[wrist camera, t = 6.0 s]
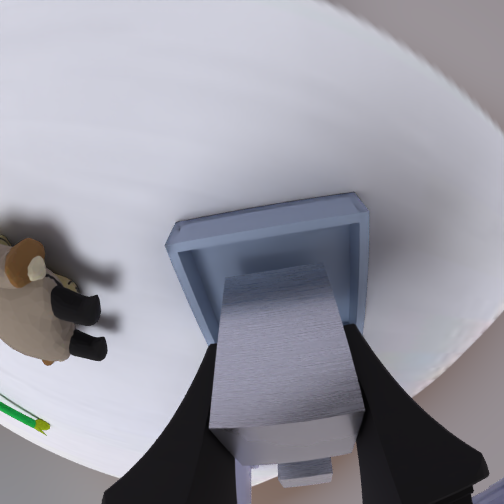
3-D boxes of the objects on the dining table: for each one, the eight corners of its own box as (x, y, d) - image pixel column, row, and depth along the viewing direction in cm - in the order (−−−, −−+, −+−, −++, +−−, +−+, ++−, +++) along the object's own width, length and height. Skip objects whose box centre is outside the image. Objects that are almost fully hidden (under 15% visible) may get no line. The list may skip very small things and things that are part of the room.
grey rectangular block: (322, 420, 24) (330, 481, 18) (280, 426, 24) (283, 487, 19) (322, 403, 22) (332, 473, 16) (275, 409, 22) (278, 480, 17)
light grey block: (326, 328, 14) (351, 452, 8) (245, 340, 14) (242, 465, 9) (322, 262, 12) (365, 409, 6) (225, 277, 12) (209, 428, 7)
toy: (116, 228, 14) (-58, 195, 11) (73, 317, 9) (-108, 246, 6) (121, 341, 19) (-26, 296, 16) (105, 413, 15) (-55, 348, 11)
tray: (353, 320, 16) (361, 345, 14) (220, 339, 17) (217, 365, 15) (354, 192, 12) (369, 211, 10) (175, 222, 13) (164, 245, 11)
